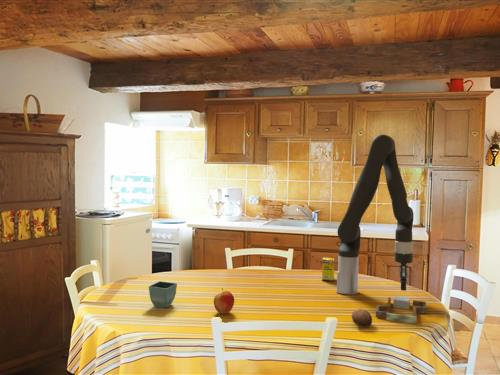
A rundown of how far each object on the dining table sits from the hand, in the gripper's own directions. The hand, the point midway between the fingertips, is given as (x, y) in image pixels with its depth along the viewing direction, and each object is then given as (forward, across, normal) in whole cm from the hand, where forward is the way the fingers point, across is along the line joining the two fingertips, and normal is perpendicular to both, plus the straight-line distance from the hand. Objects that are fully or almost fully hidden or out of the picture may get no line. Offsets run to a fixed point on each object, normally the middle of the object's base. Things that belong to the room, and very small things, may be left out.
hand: (403, 290), depth 197 cm
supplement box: (+4, -22, -37) cm, 43 cm away
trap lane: (+5, +18, -1) cm, 18 cm away
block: (+5, +8, -1) cm, 10 cm away
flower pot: (+2, +44, -95) cm, 105 cm away
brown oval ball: (+5, +37, -15) cm, 40 cm away
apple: (+3, +43, -68) cm, 81 cm away
